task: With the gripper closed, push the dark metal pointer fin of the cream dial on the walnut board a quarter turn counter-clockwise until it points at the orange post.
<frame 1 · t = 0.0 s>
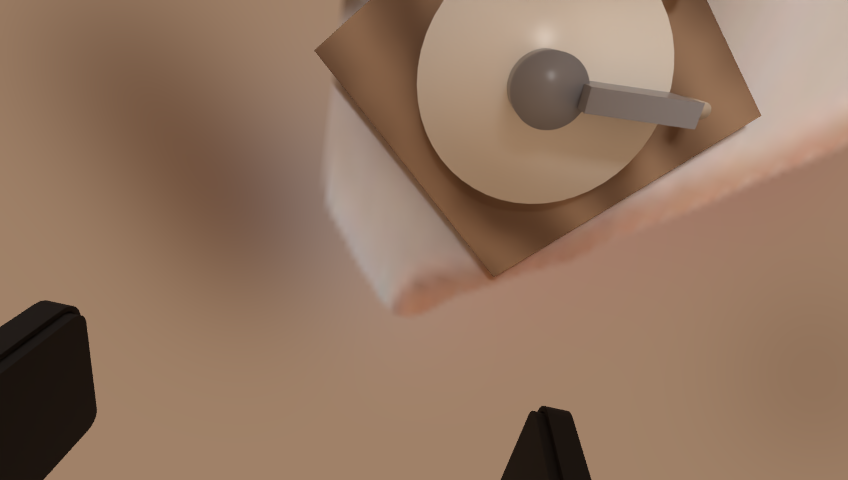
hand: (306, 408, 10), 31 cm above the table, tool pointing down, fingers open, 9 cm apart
dial: (546, 89, 31), point 5 cm above the table, hinge at 0.0°
dial board: (534, 80, 36), on the table
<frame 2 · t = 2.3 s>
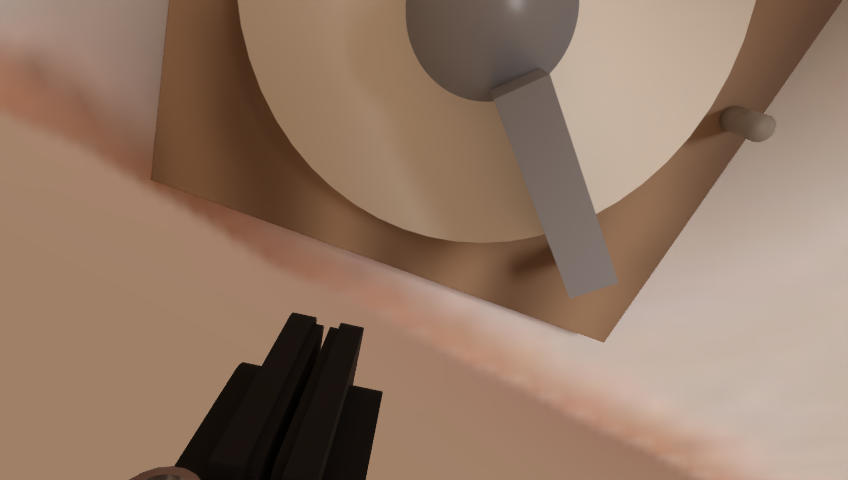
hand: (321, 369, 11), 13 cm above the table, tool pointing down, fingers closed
dial: (488, 13, 15), point 5 cm above the table, hinge at 0.0°
dial board: (482, 14, 19), on the table
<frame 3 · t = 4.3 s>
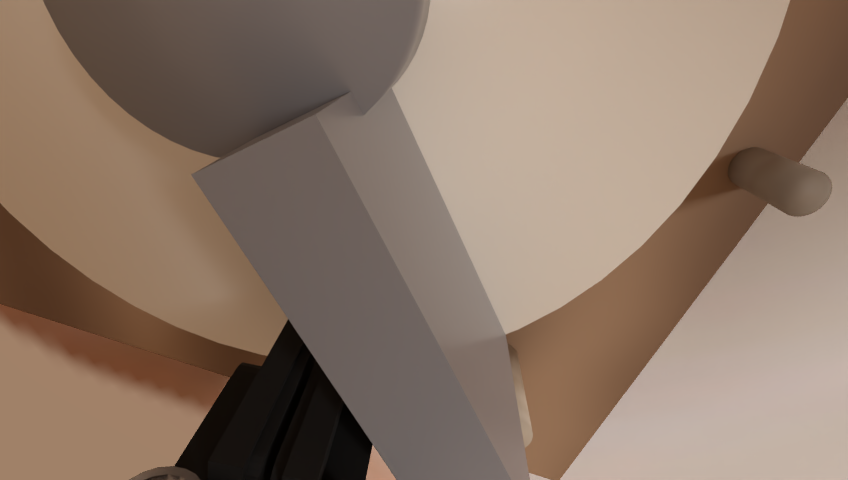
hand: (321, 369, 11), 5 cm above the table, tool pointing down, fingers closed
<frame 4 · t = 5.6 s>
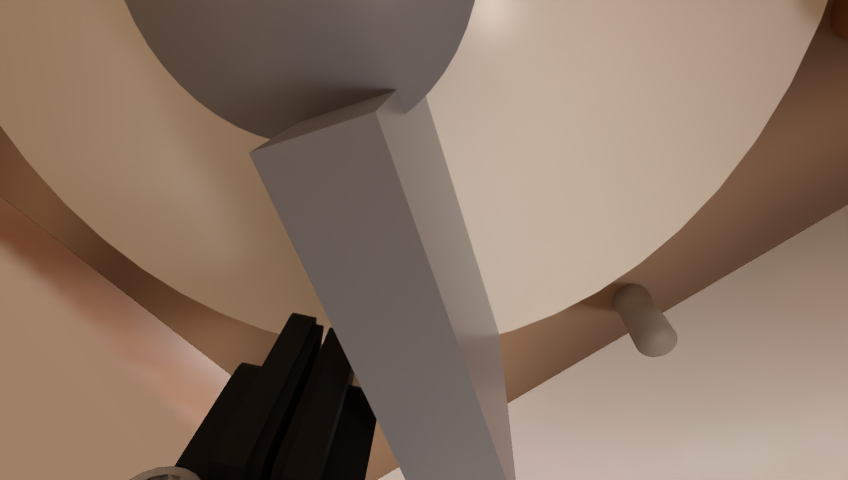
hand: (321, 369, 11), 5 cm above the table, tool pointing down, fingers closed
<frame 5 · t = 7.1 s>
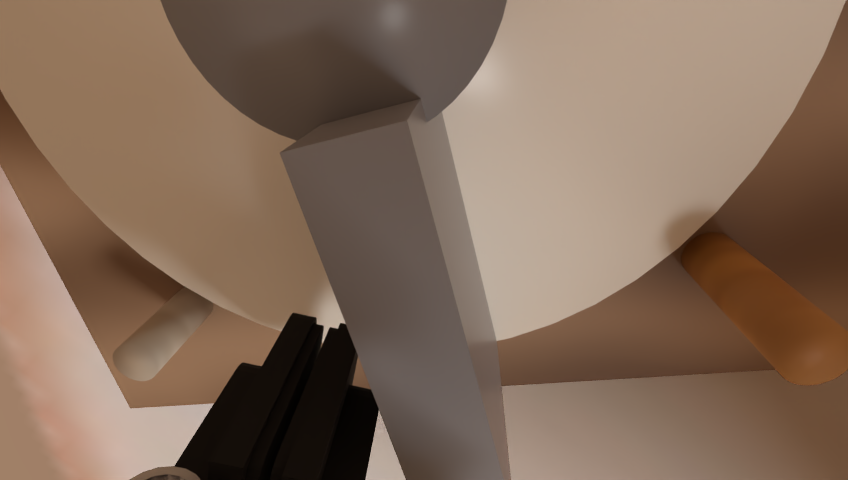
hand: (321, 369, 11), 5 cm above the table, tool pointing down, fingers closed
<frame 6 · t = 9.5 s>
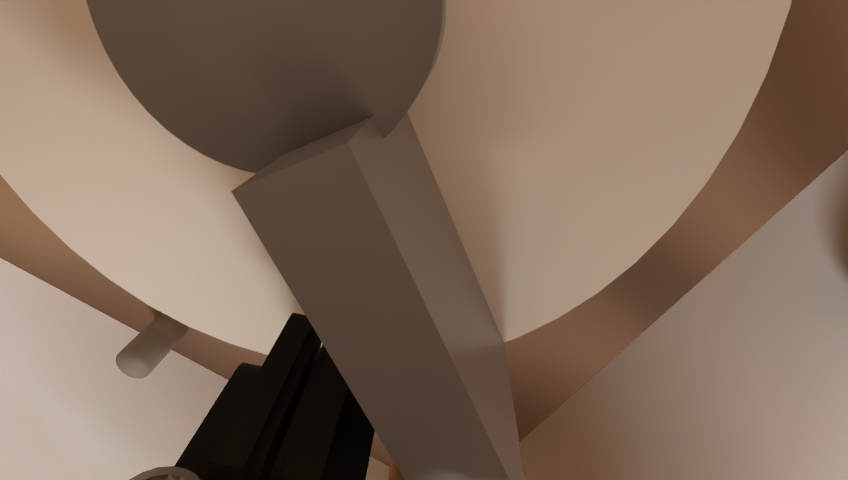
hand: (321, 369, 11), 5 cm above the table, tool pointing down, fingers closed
dial: (293, 5, 8), point 5 cm above the table, hinge at 102.3°, touching gripper
dial board: (354, 15, 12), on the table
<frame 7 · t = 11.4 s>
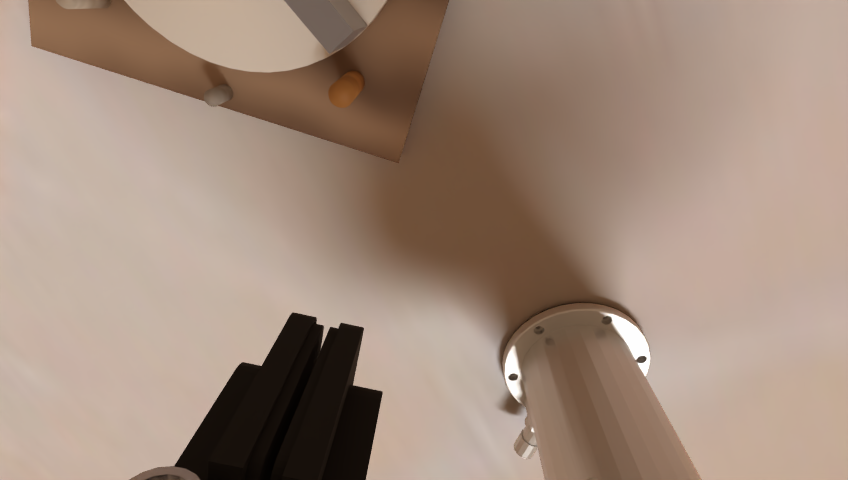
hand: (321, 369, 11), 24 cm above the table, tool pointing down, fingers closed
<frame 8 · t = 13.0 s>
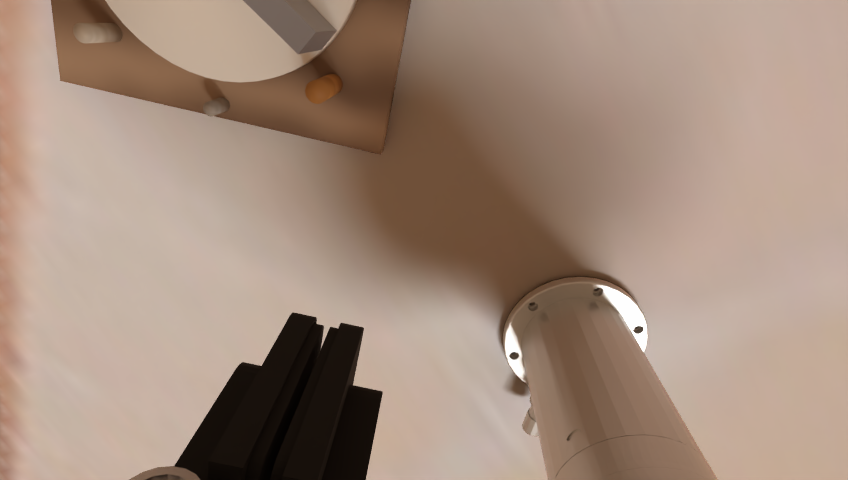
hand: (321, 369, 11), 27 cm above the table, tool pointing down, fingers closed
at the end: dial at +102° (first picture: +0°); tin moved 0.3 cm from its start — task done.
